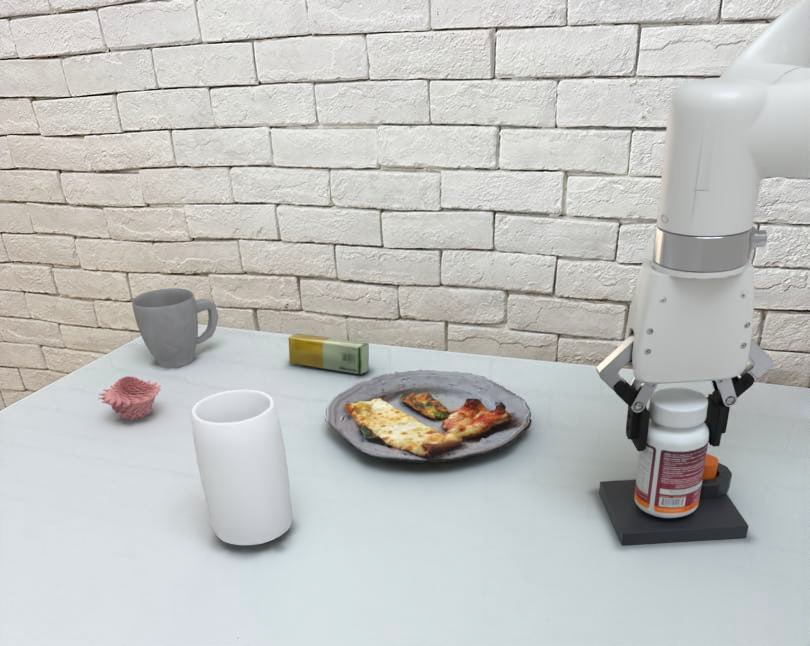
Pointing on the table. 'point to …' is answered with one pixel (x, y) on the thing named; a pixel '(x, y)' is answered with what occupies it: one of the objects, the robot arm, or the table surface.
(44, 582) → the table surface
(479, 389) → the food plate
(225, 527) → the cup
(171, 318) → the mug
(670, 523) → the scale
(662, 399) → the pill bottle
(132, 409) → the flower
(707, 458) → the button
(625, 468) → the table surface
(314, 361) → the medication box
